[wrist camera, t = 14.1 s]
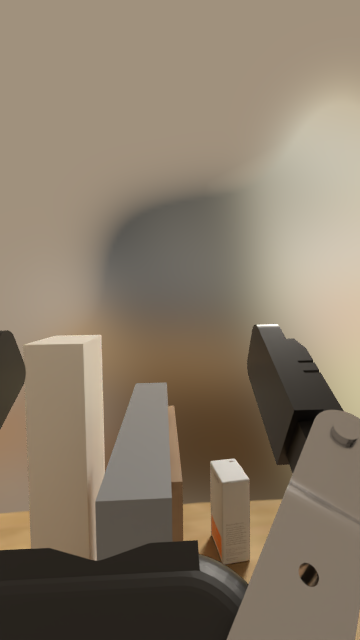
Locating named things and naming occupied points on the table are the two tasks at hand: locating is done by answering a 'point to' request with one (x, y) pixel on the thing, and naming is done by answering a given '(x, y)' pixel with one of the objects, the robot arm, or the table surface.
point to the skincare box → (230, 511)
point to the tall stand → (64, 441)
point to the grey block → (137, 478)
